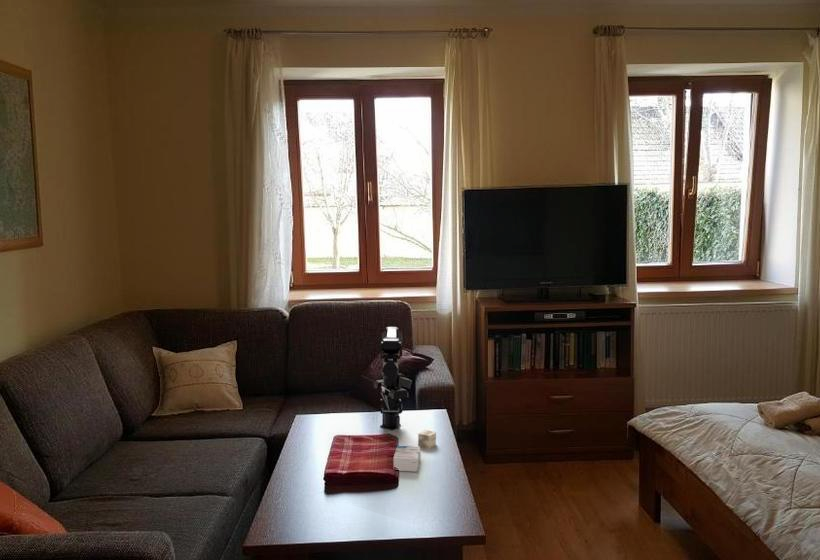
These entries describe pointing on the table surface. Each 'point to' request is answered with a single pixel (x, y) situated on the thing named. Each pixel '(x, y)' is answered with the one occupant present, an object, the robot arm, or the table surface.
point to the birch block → (426, 438)
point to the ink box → (407, 458)
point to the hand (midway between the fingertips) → (390, 410)
